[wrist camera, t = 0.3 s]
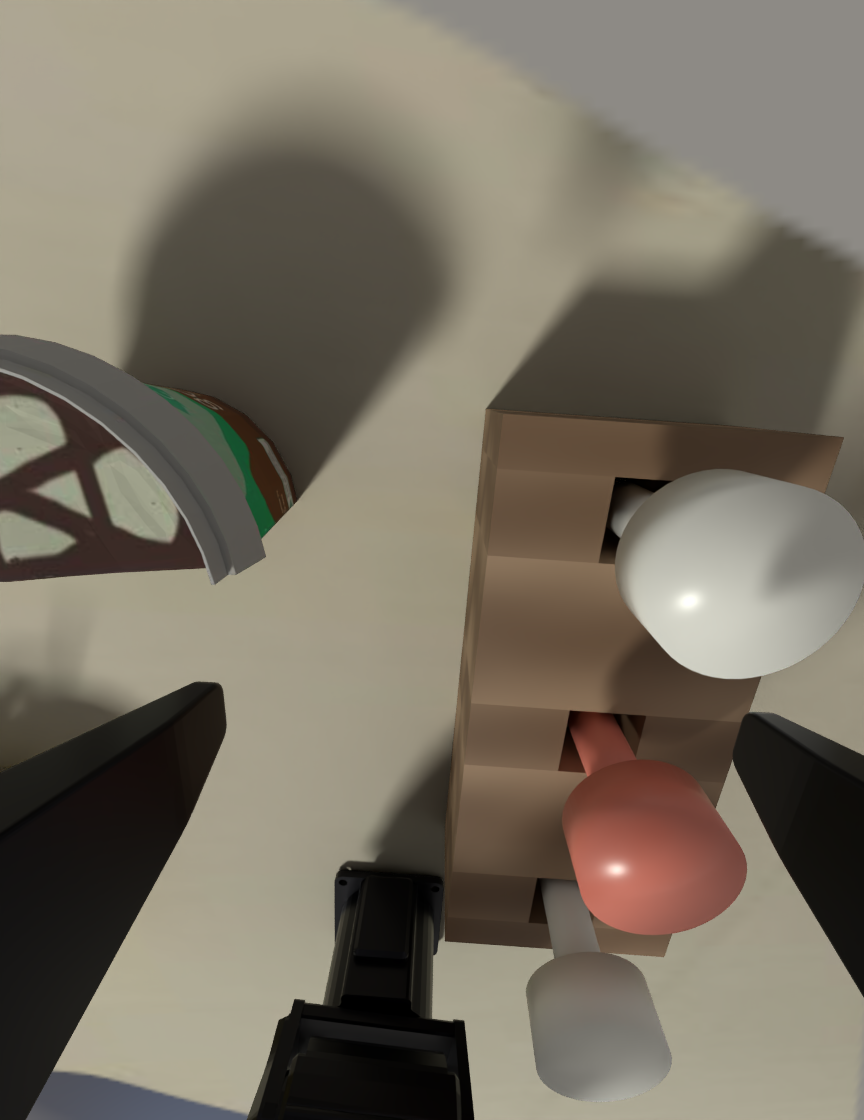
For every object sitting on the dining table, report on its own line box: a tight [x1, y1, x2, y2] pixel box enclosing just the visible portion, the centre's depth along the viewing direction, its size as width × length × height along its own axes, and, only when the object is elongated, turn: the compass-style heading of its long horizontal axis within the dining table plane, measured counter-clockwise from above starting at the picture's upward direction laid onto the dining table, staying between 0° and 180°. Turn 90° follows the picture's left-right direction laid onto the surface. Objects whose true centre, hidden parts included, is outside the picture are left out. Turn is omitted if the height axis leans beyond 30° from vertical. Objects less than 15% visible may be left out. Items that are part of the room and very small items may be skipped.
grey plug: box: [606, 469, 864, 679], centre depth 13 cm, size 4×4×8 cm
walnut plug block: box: [445, 409, 844, 957], centre depth 20 cm, size 23×10×6 cm, turn 176°
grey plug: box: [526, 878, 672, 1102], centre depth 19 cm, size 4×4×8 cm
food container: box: [0, 335, 297, 585], centre depth 15 cm, size 12×6×10 cm, turn 93°
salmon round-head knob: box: [562, 710, 747, 935], centre depth 16 cm, size 4×4×8 cm
